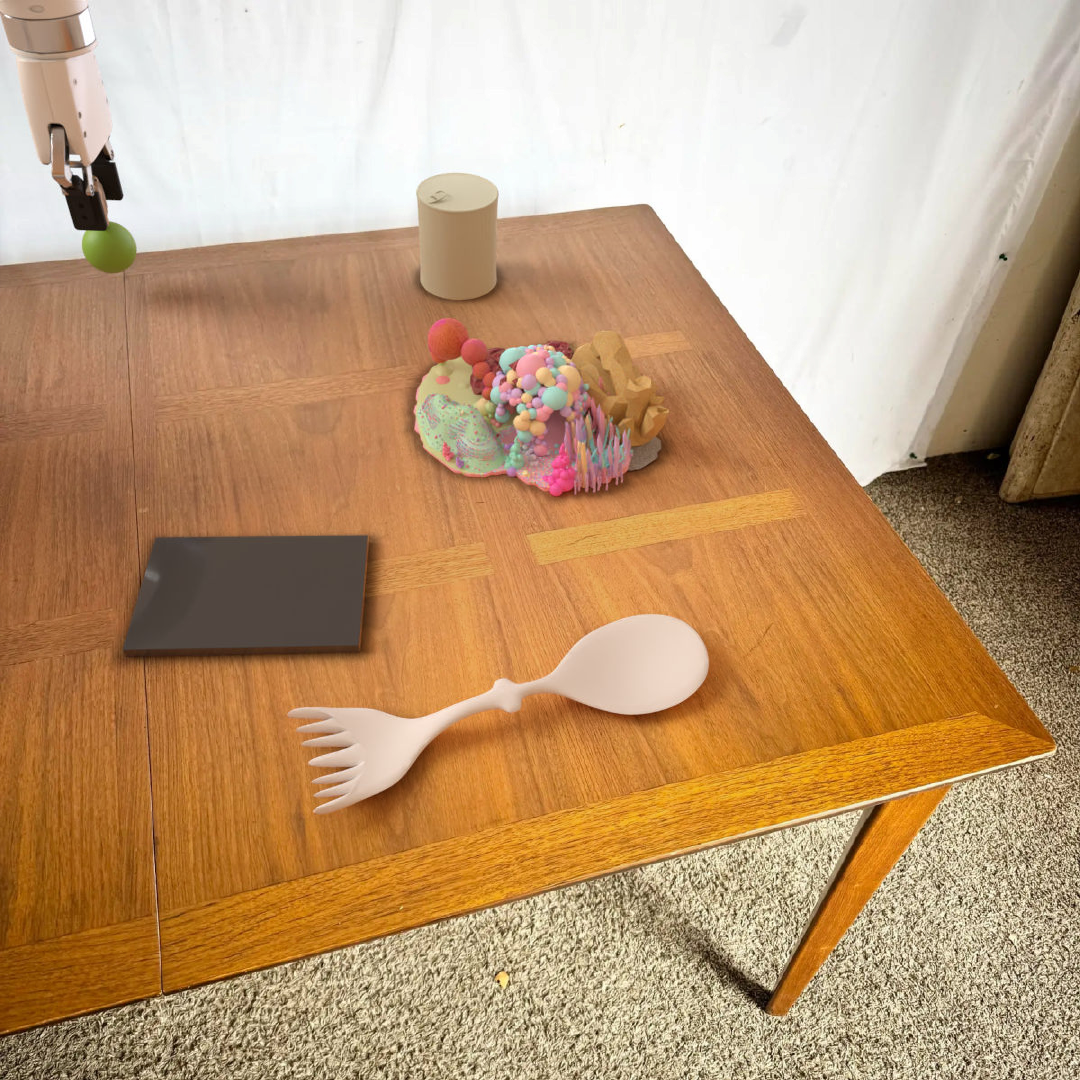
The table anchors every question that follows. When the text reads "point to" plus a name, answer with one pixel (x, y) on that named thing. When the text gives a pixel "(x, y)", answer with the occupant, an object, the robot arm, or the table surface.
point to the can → (457, 235)
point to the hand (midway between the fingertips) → (99, 212)
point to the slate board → (250, 596)
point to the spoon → (514, 702)
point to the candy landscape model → (537, 410)
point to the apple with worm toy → (109, 243)
